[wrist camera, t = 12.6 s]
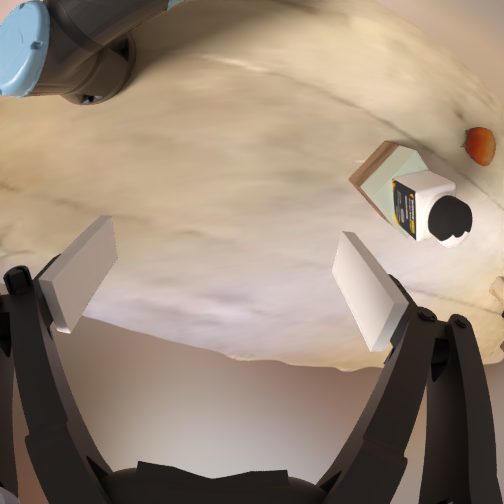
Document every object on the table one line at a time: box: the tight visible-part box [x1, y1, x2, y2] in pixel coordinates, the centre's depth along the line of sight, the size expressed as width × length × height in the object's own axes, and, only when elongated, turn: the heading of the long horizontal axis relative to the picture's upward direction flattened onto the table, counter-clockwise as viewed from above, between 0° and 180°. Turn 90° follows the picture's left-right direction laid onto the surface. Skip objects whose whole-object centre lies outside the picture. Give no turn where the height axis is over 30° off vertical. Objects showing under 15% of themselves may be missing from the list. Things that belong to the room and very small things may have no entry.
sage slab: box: [360, 145, 429, 238], centre depth 39 cm, size 10×10×5 cm
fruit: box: [460, 127, 496, 166], centre depth 38 cm, size 8×8×8 cm
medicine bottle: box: [391, 170, 472, 248], centre depth 31 cm, size 7×7×12 cm
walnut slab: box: [348, 141, 399, 224], centre depth 43 cm, size 10×10×5 cm
